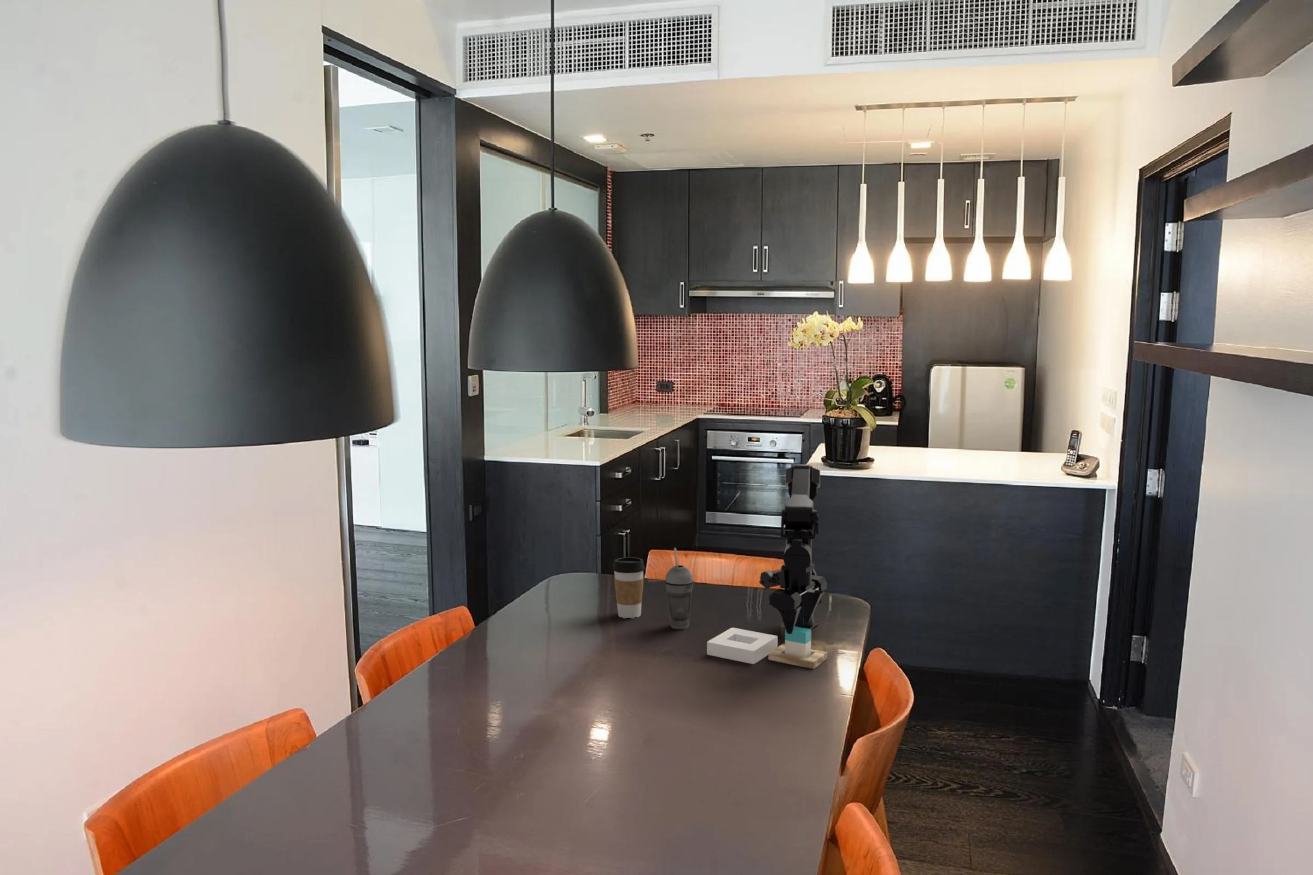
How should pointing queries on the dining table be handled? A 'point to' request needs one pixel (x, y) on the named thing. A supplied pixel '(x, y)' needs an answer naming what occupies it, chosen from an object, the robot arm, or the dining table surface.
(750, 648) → the port block
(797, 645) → the plug
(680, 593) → the beverage cup
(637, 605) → the coffee cup
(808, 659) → the holster
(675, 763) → the dining table surface
